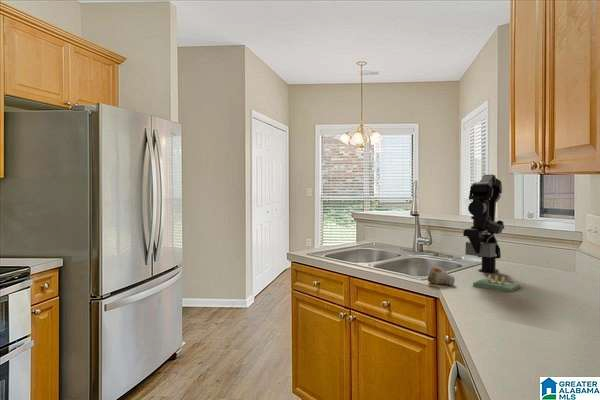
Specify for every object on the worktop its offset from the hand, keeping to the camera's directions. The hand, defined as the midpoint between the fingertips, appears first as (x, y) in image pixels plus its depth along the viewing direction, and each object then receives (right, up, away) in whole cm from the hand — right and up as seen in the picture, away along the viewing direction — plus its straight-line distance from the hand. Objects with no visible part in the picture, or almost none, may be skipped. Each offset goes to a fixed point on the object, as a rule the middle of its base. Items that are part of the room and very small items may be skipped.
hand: (480, 252), depth 185 cm
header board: (+2, -12, -10) cm, 15 cm away
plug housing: (0, -1, 0) cm, 1 cm away
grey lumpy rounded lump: (-17, -12, -5) cm, 21 cm away
